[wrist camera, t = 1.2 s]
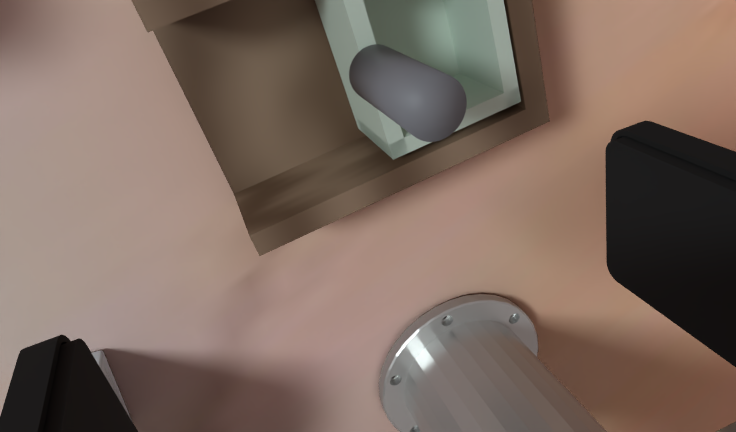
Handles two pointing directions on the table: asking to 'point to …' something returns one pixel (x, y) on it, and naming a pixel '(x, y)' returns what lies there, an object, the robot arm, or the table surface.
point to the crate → (421, 66)
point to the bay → (308, 111)
